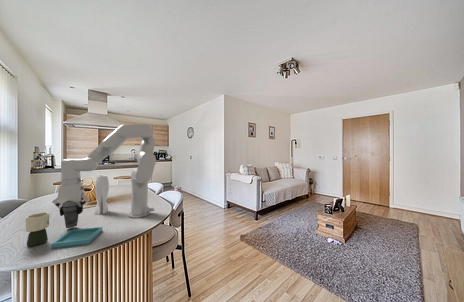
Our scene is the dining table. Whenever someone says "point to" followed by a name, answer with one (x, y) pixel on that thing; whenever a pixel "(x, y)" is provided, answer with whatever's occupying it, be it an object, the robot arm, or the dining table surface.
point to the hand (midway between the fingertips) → (71, 213)
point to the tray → (77, 237)
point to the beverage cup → (70, 213)
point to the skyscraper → (101, 194)
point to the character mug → (37, 228)
